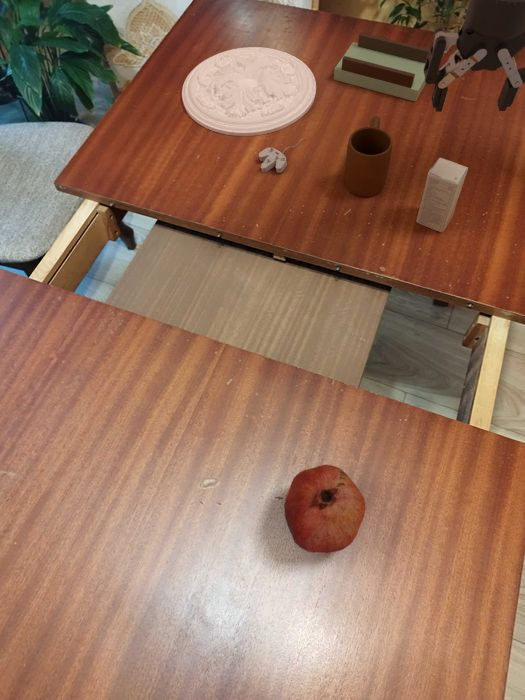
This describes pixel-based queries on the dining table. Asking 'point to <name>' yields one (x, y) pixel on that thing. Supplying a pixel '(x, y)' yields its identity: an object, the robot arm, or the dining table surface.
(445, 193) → the box
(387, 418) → the dining table surface
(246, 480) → the dining table surface
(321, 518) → the fruit
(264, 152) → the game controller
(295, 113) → the ceiling medallion
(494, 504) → the dining table surface
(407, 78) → the green base with ridges
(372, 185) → the mug
